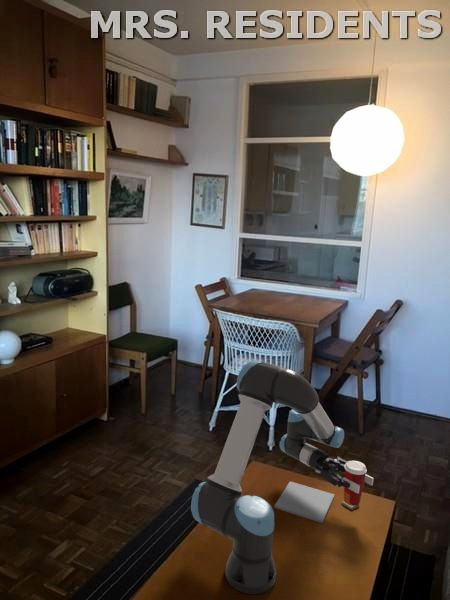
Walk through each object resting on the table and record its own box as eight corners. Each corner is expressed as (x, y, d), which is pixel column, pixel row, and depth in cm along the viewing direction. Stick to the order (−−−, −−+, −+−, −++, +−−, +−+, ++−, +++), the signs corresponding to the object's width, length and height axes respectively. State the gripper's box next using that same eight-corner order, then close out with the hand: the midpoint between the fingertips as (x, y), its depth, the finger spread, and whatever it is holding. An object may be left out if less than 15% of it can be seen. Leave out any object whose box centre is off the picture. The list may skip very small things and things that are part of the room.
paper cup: (365, 499, 176) (369, 464, 174) (358, 510, 170) (363, 473, 167) (344, 492, 180) (348, 457, 178) (337, 502, 174) (341, 466, 171)
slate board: (322, 523, 173) (322, 520, 173) (274, 507, 180) (274, 505, 180) (334, 496, 189) (334, 494, 189) (289, 483, 196) (289, 481, 196)
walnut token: (350, 511, 181) (351, 507, 181) (341, 505, 185) (342, 501, 184) (358, 507, 184) (359, 504, 183) (349, 501, 187) (350, 497, 187)
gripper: (330, 459, 194) (380, 485, 177) (295, 475, 181) (347, 505, 164) (331, 441, 193) (383, 466, 176) (297, 456, 179) (349, 485, 162)
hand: (365, 485), depth 170 cm, fingers closed on paper cup, 8 cm apart
